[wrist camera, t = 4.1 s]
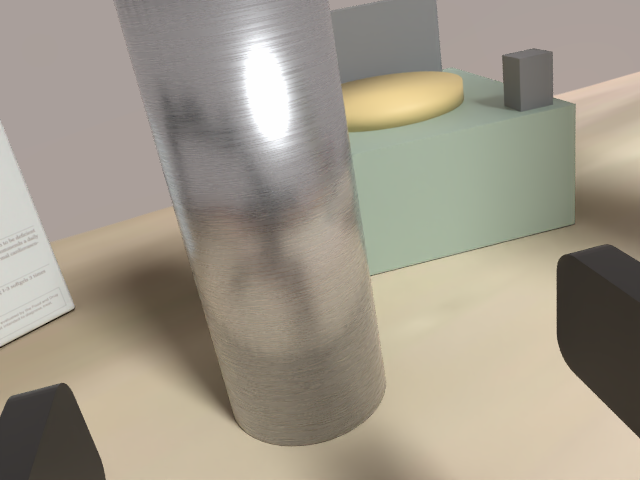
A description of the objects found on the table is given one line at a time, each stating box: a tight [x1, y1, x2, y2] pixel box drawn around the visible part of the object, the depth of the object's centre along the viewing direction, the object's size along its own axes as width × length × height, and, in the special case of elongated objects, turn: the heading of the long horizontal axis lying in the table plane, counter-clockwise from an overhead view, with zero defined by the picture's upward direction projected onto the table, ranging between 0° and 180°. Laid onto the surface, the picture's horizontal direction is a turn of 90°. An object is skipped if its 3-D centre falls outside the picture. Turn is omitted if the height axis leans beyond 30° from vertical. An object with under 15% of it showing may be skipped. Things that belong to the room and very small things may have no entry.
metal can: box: [114, 0, 386, 446], centre depth 18 cm, size 6×6×17 cm
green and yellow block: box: [330, 0, 576, 276], centre depth 33 cm, size 14×14×11 cm
